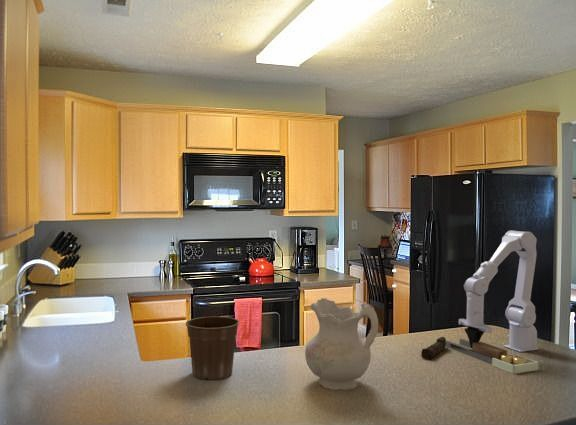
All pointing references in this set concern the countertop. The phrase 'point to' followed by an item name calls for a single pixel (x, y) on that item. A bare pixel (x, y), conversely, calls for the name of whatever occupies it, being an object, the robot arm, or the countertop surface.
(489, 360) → the slot rails
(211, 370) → the plant pot
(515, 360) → the chip
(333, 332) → the ceramic pitcher
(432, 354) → the brown wooden log
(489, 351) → the long wooden beam
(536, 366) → the tray
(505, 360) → the chip
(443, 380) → the countertop surface
